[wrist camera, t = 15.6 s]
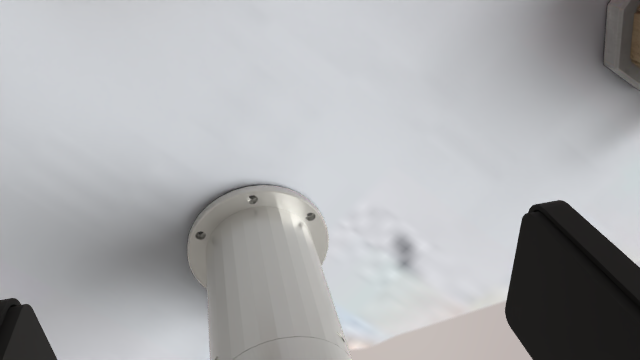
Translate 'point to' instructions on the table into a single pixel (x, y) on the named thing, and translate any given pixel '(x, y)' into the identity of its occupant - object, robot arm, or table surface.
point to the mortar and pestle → (623, 40)
